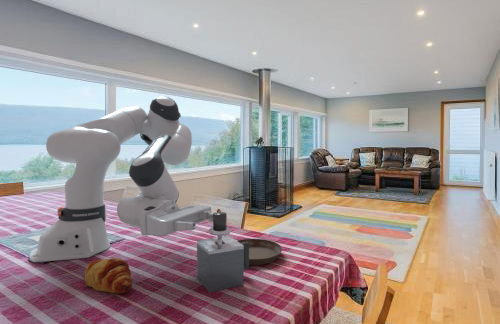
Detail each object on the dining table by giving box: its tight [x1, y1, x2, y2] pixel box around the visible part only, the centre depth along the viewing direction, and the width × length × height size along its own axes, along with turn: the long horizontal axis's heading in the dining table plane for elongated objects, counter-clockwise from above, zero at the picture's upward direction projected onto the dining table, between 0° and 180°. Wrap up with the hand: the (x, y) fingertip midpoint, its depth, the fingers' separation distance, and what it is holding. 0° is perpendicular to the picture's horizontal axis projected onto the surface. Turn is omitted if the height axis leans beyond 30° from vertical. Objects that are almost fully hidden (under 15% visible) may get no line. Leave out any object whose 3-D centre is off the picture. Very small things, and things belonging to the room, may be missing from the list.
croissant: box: [84, 257, 133, 294], centre depth 81 cm, size 21×10×8 cm, turn 48°
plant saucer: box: [236, 238, 283, 266], centre depth 100 cm, size 18×18×3 cm
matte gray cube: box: [196, 235, 250, 294], centre depth 82 cm, size 12×9×10 cm
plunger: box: [208, 211, 231, 245], centre depth 81 cm, size 5×5×15 cm
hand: (205, 222), depth 83 cm, fingers open, 8 cm apart
